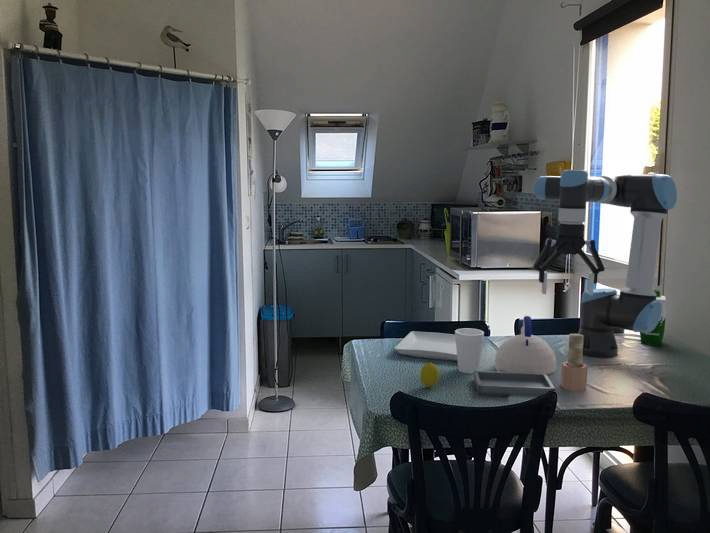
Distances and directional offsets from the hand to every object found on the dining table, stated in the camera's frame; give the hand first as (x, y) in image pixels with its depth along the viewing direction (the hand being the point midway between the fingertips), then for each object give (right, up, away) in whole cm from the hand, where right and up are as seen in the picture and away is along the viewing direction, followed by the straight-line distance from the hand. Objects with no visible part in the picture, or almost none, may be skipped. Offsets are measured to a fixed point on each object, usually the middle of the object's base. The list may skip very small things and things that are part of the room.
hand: (566, 294), depth 191 cm
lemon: (-41, -29, +3) cm, 50 cm away
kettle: (-7, -26, +22) cm, 35 cm away
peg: (+2, -28, +1) cm, 28 cm away
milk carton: (+51, -21, +57) cm, 79 cm away
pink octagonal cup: (+2, -29, +2) cm, 29 cm away
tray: (-16, -29, +2) cm, 33 cm away
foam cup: (-26, -26, +20) cm, 42 cm away
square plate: (-33, -23, +43) cm, 59 cm away
